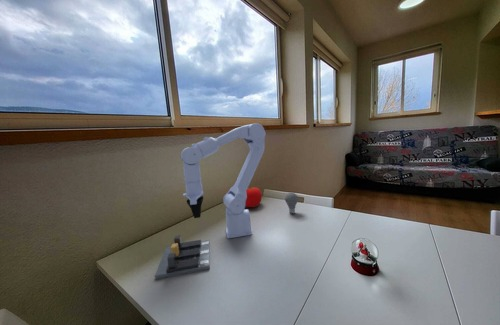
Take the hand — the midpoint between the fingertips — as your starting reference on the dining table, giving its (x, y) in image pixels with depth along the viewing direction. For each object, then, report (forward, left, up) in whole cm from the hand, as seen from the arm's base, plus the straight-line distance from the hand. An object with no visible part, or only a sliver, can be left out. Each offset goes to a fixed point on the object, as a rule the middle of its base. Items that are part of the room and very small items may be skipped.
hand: (197, 217), depth 73 cm
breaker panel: (+4, +9, -10) cm, 14 cm away
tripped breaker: (+7, +9, -8) cm, 14 cm away
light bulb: (-42, -13, -10) cm, 45 cm away
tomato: (-26, -30, -10) cm, 41 cm away
